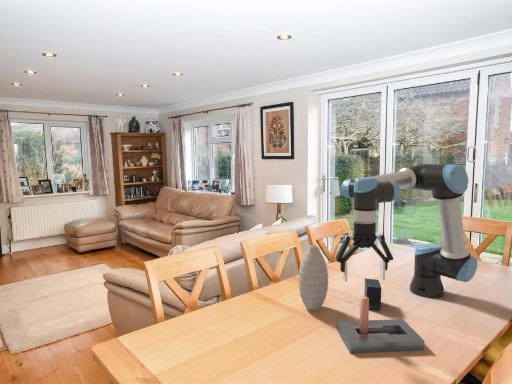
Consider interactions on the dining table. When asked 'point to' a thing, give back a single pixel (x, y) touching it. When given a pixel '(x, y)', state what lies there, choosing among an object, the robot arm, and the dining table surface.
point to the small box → (373, 293)
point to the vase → (313, 279)
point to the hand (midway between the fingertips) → (363, 279)
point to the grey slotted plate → (379, 336)
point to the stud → (364, 315)
